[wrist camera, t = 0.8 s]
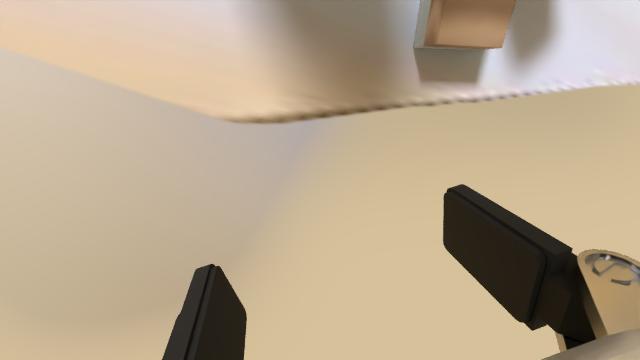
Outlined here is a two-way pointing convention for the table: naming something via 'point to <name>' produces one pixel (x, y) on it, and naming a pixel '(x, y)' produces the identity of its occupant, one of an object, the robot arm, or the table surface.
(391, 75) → the table surface
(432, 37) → the upper tower slab
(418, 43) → the lower tower slab
